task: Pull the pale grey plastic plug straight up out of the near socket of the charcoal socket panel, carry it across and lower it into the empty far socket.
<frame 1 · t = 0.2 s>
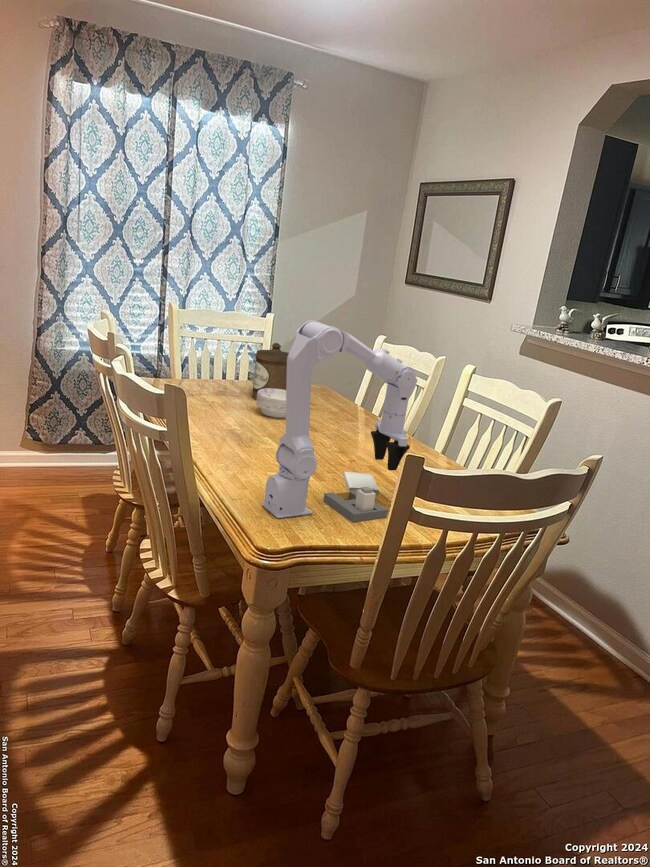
hand: (385, 464, 165), 10 cm above the table, tool pointing down, fingers open, 7 cm apart
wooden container: (270, 399, 257), on the table
hard drive: (360, 486, 178), on the table
plug: (362, 514, 157), resting in socket panel
socket panel: (354, 508, 160), on the table
paper bowls: (276, 415, 235), on the table
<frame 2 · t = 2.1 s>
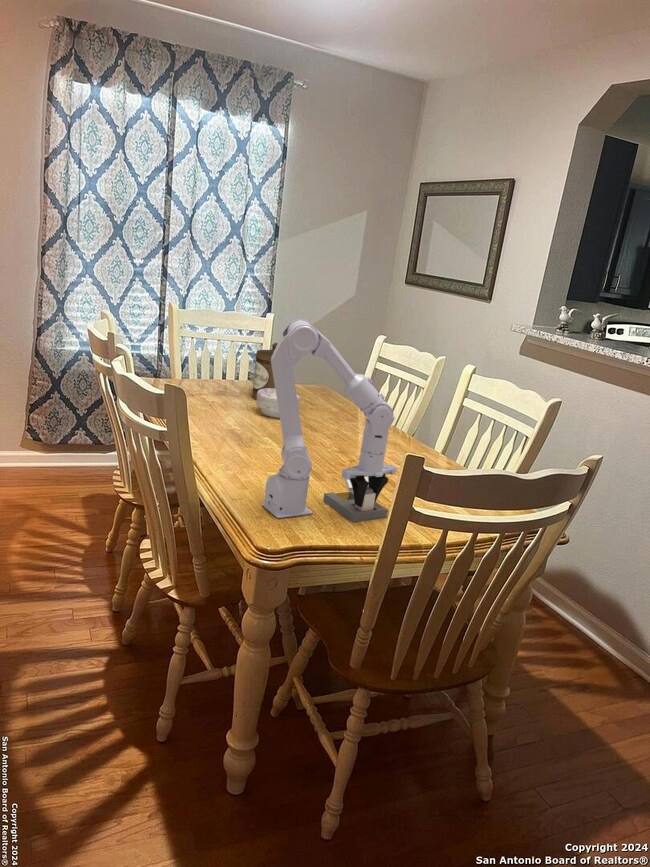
hand: (364, 504, 157), 3 cm above the table, tool pointing down, fingers closed on plug, 3 cm apart
plug: (362, 514, 157), resting in socket panel, touching gripper
everything else where it was.
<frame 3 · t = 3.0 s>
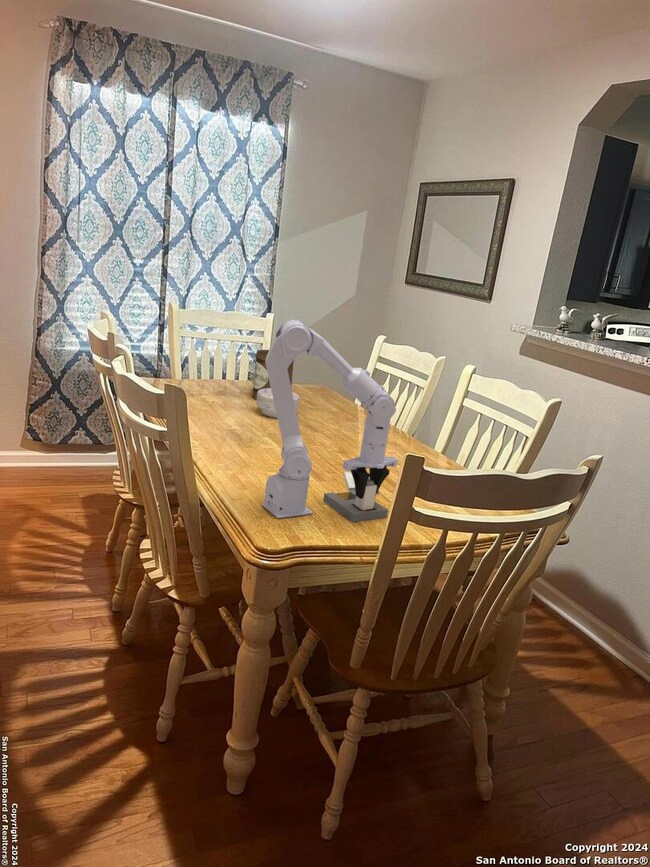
hand: (365, 496, 156), 5 cm above the table, tool pointing down, fingers closed on plug, 3 cm apart
plug: (363, 506, 157), point 2 cm above the table, touching gripper
everything else where it was.
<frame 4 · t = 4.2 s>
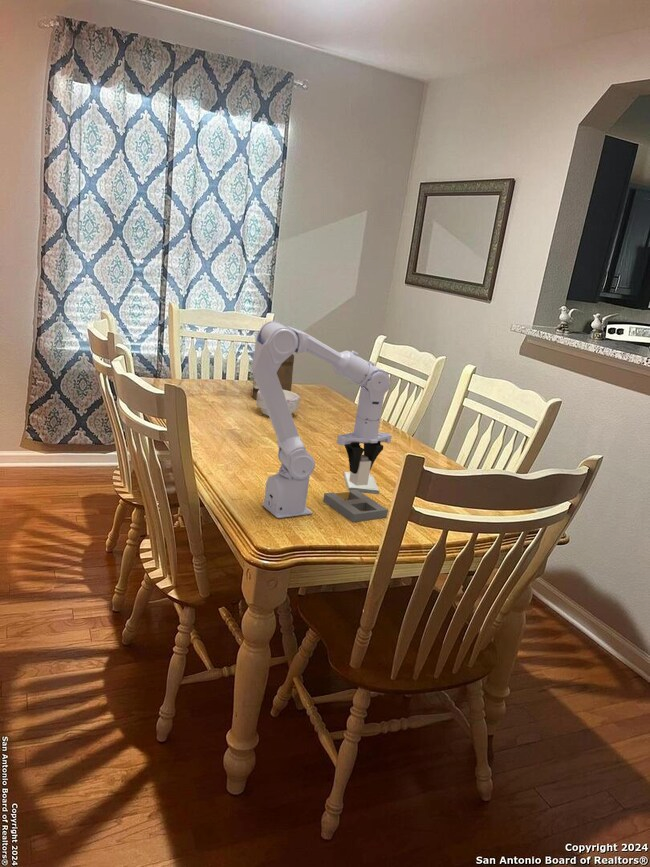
hand: (359, 471, 158), 10 cm above the table, tool pointing down, fingers closed on plug, 3 cm apart
plug: (358, 482, 158), point 7 cm above the table, touching gripper
everything else where it was.
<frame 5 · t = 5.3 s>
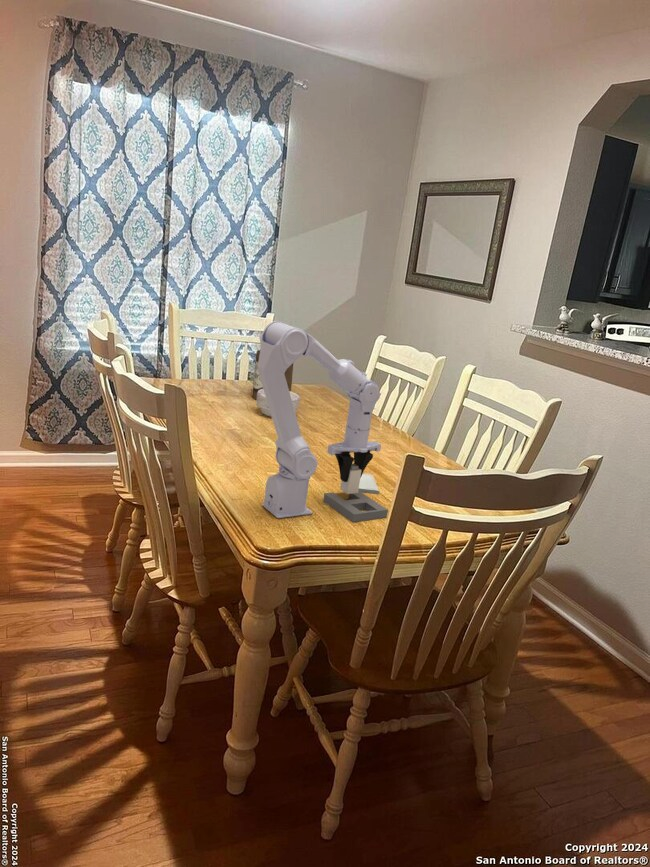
hand: (350, 479, 161), 6 cm above the table, tool pointing down, fingers closed on plug, 3 cm apart
plug: (349, 491, 162), point 3 cm above the table, touching gripper
everything else where it was.
when the fingers open (4 cm above the table, at t = 6.2 s): plug stays where it is, resting in socket panel.
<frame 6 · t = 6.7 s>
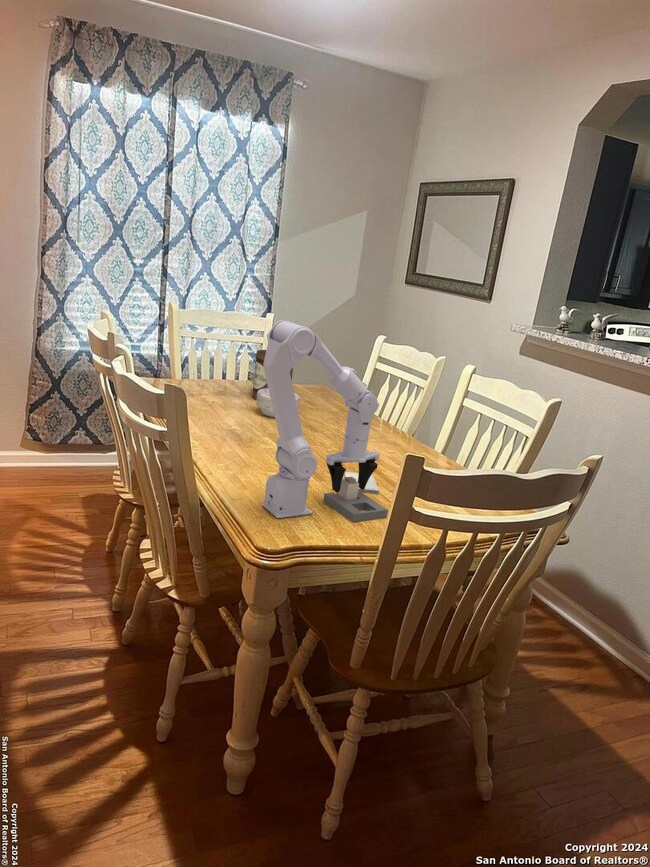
hand: (348, 489, 162), 4 cm above the table, tool pointing down, fingers open, 7 cm apart
plug: (346, 503, 163), resting in socket panel
everything else where it was.
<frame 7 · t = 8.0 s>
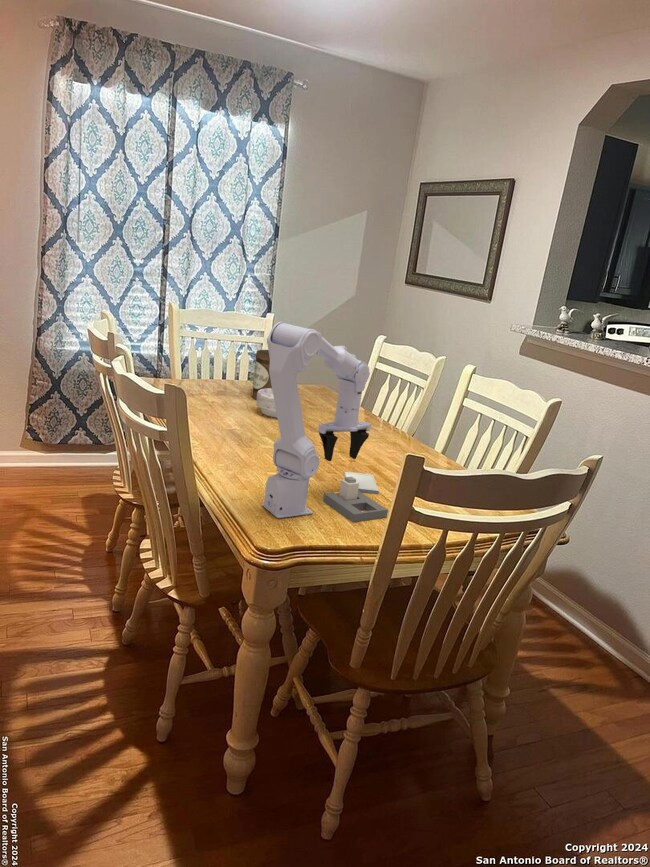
hand: (340, 458, 166), 9 cm above the table, tool pointing down, fingers open, 7 cm apart
nothing on the table moved.
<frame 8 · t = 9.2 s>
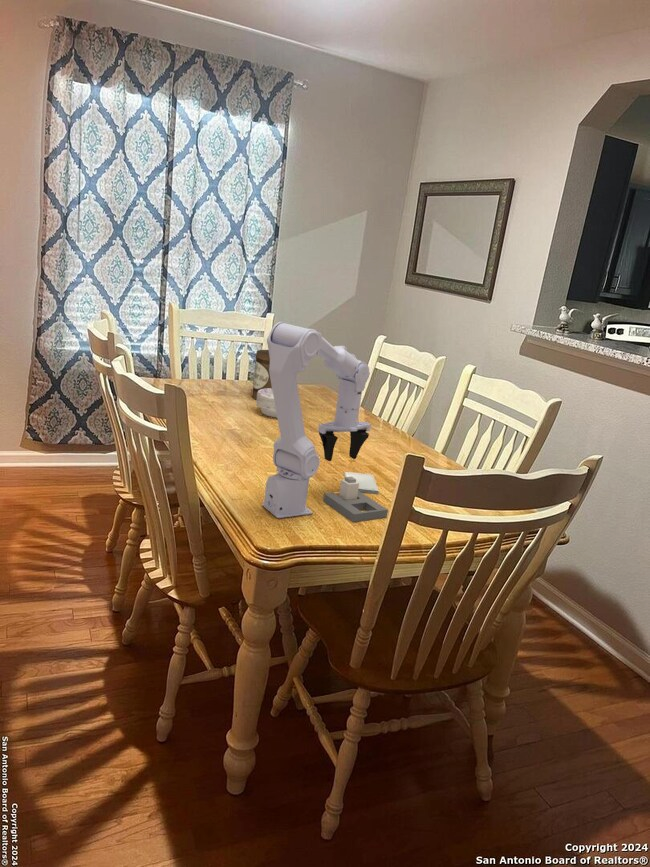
hand: (340, 458, 166), 9 cm above the table, tool pointing down, fingers open, 7 cm apart
nothing on the table moved.
at the end: plug 0.2 cm from the target spot on the socket panel, point 0.0 cm above the socket panel's base; plug tilted 0°; the gripper is holding nothing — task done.
